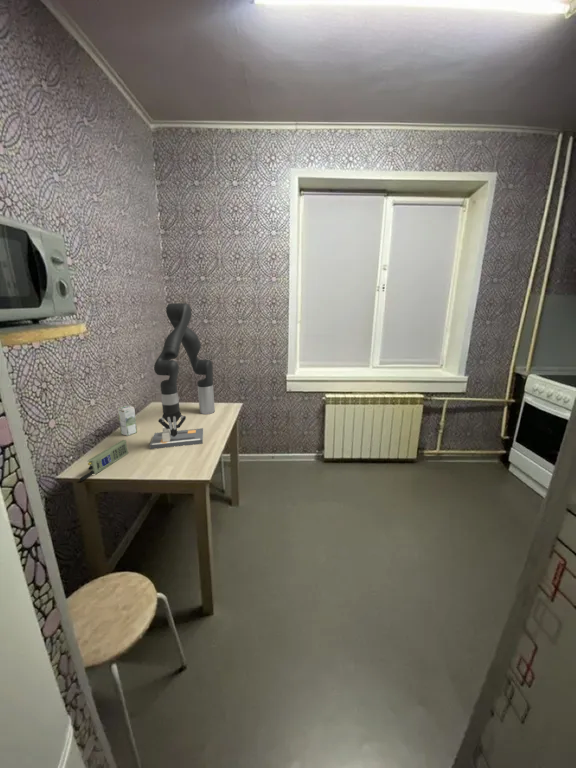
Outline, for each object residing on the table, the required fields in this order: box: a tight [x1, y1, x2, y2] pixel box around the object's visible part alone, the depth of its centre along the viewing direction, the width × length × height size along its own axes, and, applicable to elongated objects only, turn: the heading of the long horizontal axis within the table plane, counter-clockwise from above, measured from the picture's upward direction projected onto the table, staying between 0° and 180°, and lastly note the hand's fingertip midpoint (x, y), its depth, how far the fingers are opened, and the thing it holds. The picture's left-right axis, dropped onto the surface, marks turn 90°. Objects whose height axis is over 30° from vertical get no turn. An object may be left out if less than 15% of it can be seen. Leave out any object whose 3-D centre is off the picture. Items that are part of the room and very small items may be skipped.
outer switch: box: [162, 430, 171, 442], centre depth 153 cm, size 4×3×4 cm
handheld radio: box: [79, 439, 129, 482], centre depth 133 cm, size 7×3×25 cm
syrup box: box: [117, 405, 138, 437], centre depth 165 cm, size 6×6×14 cm
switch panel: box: [149, 427, 204, 450], centre depth 158 cm, size 15×24×2 cm, turn 104°
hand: (174, 435), depth 153 cm, fingers closed
